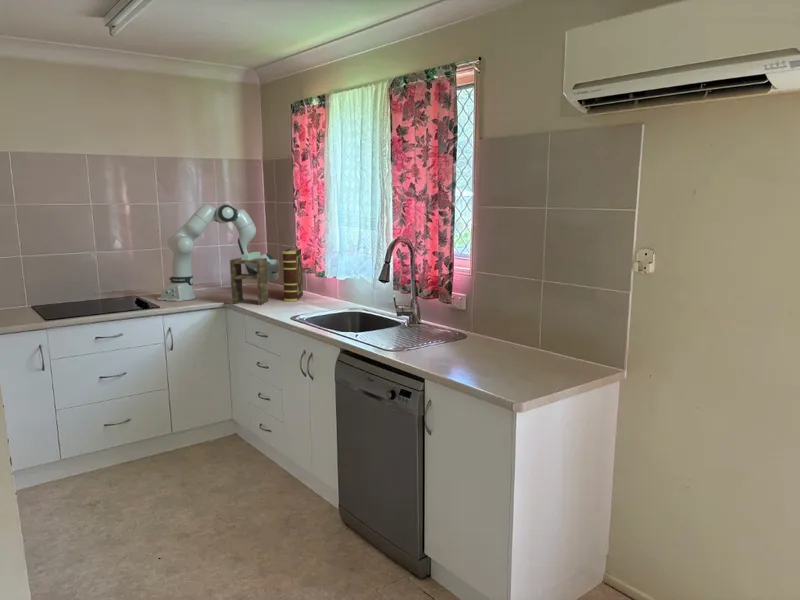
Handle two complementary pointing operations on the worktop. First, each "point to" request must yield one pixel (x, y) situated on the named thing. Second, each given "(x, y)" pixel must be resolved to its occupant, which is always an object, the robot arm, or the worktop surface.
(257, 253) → the pale green bar
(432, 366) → the worktop surface
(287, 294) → the decorative book
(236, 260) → the walnut shelf
